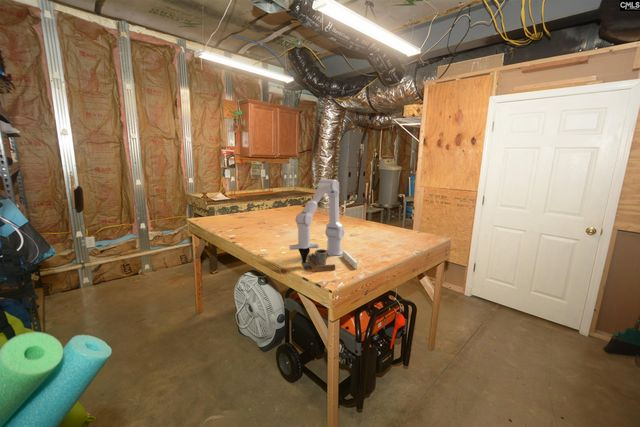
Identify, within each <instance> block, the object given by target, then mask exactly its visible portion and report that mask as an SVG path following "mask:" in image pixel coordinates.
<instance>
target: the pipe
mask: <svg viewBox="0 0 640 427" xmlns="http://www.w3.org/2000/svg"><path fill="white" fill-rule="evenodd" d="M326 250H327V249H324V248H323V249H319V248H318V249H316V250H314V253H312V254H310V255H311V256H310V258H311V260H310V261H312V262H314V263H316V266H321V265H327V259H326V256H328V253H327V251H326Z"/></svg>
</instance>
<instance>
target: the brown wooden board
mask: <svg viewBox="0 0 640 427" xmlns="http://www.w3.org/2000/svg"><path fill="white" fill-rule="evenodd" d="M311 255H312V254H310V255H309V254H308V256H307V258H308V261H312V260H311V258H310V256H311ZM327 256H328V255H327ZM327 256H326V260H327ZM325 271H336V264H326V265H321V266H317V265H315V266H314V272H325Z"/></svg>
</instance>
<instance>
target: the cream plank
mask: <svg viewBox="0 0 640 427" xmlns="http://www.w3.org/2000/svg"><path fill="white" fill-rule="evenodd" d="M342 253H343V255H342V257H343V258H344V260H346V261H347V262H348V264H350V266H352V267H353V269H354V270H358V261H357V260H355V258H354V257H353V256H351V255H350V254H349V253H348V252H347V251H346V250H345V249H343V250H342Z"/></svg>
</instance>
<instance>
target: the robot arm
mask: <svg viewBox="0 0 640 427" xmlns="http://www.w3.org/2000/svg"><path fill="white" fill-rule="evenodd" d="M325 194H327V195H328V197H329V200H328V202H329V204H328V205H329V207H328V208H329V209H328V210H329V222H328V223H327V224H326V228H325V236H326V237H327V240H326V241H327V242H326V243H327V244H326V249H325V250H326V251H327V255H329V256H330V257H333V256H343V251H341V250H342V239H343V238H344V236H345V230H344V225H343V224H342V223H341V222H340V209H339V208H340V206H339V205H340V202H339V201H340V198H339V196H340V182H339V181H338V180H337V179H329V178H328V179H327V178H326V179H325V178H320V179H319V181H318V183H317V188H316V191H315V192H314V194H313V197H312V199H311V200H308V201H307V202H306V204H305V206H304V207H303V209H302V210H301V212H299V213H298V214H296V217H295V222H296V226H297V229H298V230H297V232H298V233H297V234H298V235H297V236H298V237H297V244H292V245H289V249H288V250H289V251H293V250H294V251H295V250H298V252H299V253H300V256H301V261H302V262H303V263H306V262H307V258H308V256H309V254H310V252H311V249H319V244H318V243H310V241H311V240H310V237H311V235H310V234H311V233H310V229H311V228H310V225H311V224H312V223H313V218H314V214H315V213H316V211H317V209H318V208H319V207H318V203H319V202H320V201H321V199H322V198H323V196H324V195H325ZM302 262H301V263H302Z"/></svg>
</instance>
